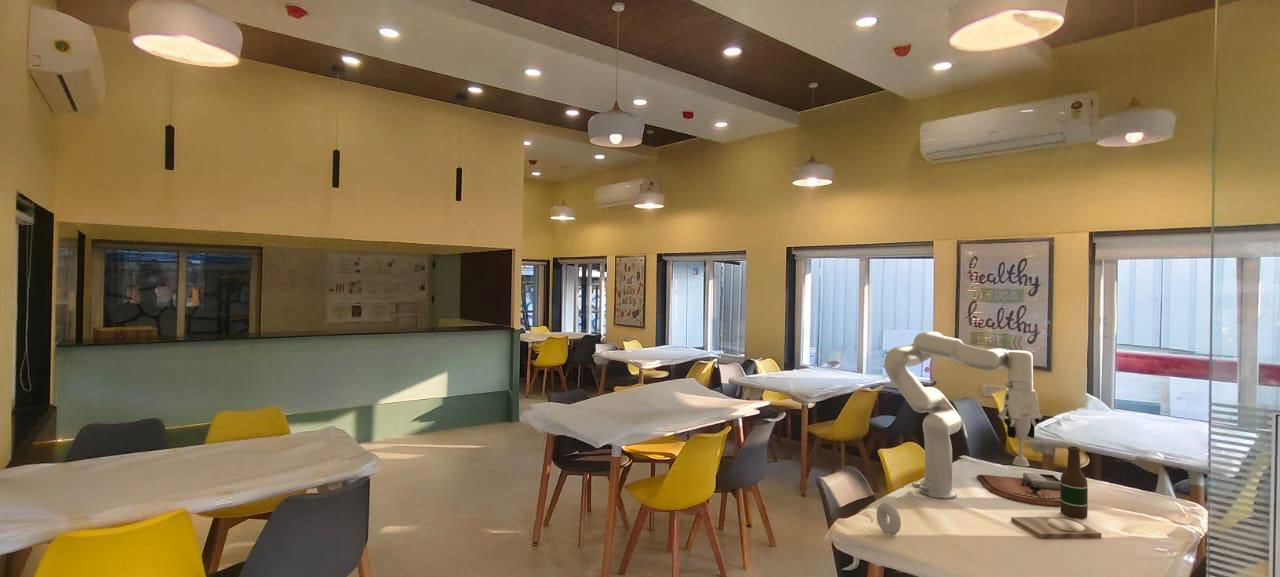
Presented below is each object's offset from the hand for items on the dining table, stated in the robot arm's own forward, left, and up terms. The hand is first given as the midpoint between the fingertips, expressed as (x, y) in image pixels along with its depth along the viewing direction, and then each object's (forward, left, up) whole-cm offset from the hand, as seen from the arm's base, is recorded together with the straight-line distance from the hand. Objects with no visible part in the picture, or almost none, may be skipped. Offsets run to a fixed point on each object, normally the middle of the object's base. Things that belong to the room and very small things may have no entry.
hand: (1020, 436), depth 207 cm
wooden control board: (+20, +23, -28) cm, 42 cm away
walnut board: (+3, -12, -28) cm, 30 cm away
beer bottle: (+19, 0, -28) cm, 34 cm away
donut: (-54, -14, -28) cm, 62 cm away
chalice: (0, 0, -10) cm, 10 cm away
